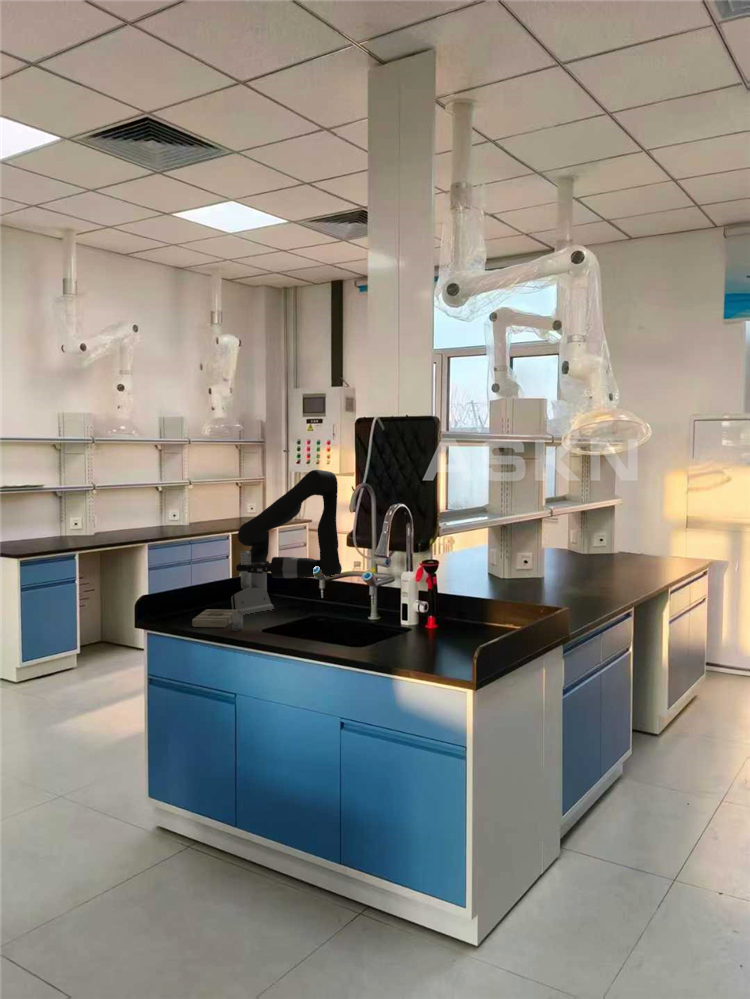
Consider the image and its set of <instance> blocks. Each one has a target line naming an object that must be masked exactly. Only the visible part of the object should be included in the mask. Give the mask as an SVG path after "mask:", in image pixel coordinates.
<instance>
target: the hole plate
mask: <svg viewBox="0 0 750 999" xmlns="http://www.w3.org/2000/svg"><path fill="white" fill-rule="evenodd" d="M233 612H238V610H232V609H221V608H220V609H219V608H218V609H217V608H216V609H215V608H213V609H210V608H209V609H208V608H207V609H205V610H203V611H202V612H201V613H199V614H198V615H197V616H195V617H194V618H193V619H192V622H191V623H192V625H191V626H193V628H195V627H196V628H197V627H198V628H199V627H200V628H202V627H203V628H227V627H228V626H229V625H230V624H232V613H233ZM227 625H228V626H227ZM226 626H227V627H226Z"/></svg>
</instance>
